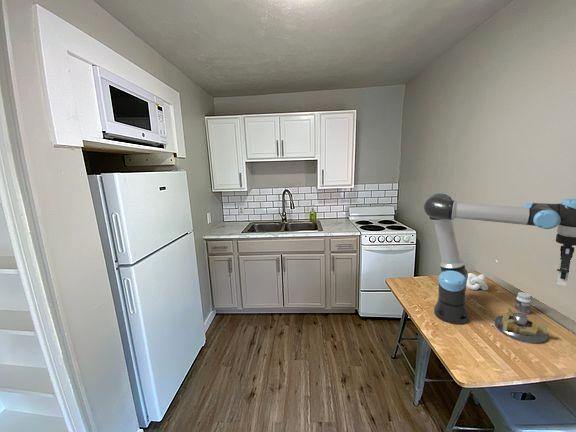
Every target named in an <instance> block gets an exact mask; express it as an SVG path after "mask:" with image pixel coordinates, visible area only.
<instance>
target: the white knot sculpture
mask: <svg viewBox="0 0 576 432" xmlns="http://www.w3.org/2000/svg"><path fill="white" fill-rule="evenodd" d="M467 273H468V272H467ZM466 288H468V289H469V290H473V291H477V290H479V289H481V290H482V291H487V290H488V289H489V285H488V284H487V282H486V275H485V274H483V273H481V274H479V275H477V274H475V273H473V272H469V273H468V279H467V284H466Z"/></svg>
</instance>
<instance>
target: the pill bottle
mask: <svg viewBox="0 0 576 432" xmlns="http://www.w3.org/2000/svg"><path fill="white" fill-rule="evenodd" d="M515 298H516V299H515V305H514V306H515V307H514V310H515V311H516V312H517V313H521V314H524V315H528V314H530V313H531V308H532V299H531V295H530V293H527V292H525V291H523V292H522V291H519V292H518V293H517V296H516V297H515Z"/></svg>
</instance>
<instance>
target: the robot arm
mask: <svg viewBox="0 0 576 432" xmlns="http://www.w3.org/2000/svg"><path fill="white" fill-rule="evenodd" d="M423 210H424V212H425V214H426V215H427V216H429V220H430V221H432V222H433V225H434V230H435V233H436V238H437V243H438V248H439V254H440V258H441V262H440V263H439V268H440V272H441V273H440V274H439V276H438V299H437V301H436V303H435V305H434V309H433V314H434V315H435V317H437V318H438V319H439V320H440V321H443V322H446V323H448V324H452V325H463V324H467V322H468V321H469V313H468V311H467V307H466V305H465V304H466V293H467V292H466V291H467V286H466V284H467V279H468V270H467V269H466V266H465V263H464V262H463V260H461V258H460V253H459V249H458V244H457V238H456V234H455V230H454V229H455V228H454V224H453V221H454V220H455V219H461V220H472V221H482V222H483V221H484V222H491V223H492V222H493V223H503V224H512V225H513V224H514V225H524V226H531V227H533V226H534V227H537V228H539V229H543V230H551V229H554V228H556V229H557V230H556V236H555V242H556V243H558V244H562V245H560V247H559V249H560V251H559V252H560V255H559V257H560V260H559V264H558V268H557V269H556V271H557V282H556V285H558V286H563V287H567V284H568V278H569V273H570V266H571V261H572V258H573V255H574V253H575V246H576V198H565V199H562V200H561V203H543V202H541V203H540V202H525V203H523V205H522V206H512V205H511V206H510V205H509V206H508V205H497V204H496V205H495V204H480V203H468V202H467V203H466V202H465V203H464V202H457V201H456V200H453V198H452V197H451V196H450V195H449V194H447V193H444V192H438V193H434V194H432V195H431V196H430V197H429V198H428V199H427V200H425V203H424V204H423ZM570 260H571V261H570Z"/></svg>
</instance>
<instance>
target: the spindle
mask: <svg viewBox="0 0 576 432" xmlns="http://www.w3.org/2000/svg"><path fill="white" fill-rule="evenodd" d="M528 318H529V317H528V316H527V314H522V313H519V312H517V313H514V319H513V320H514V321H515V324H516V325H518V326H522V327H527V319H528Z"/></svg>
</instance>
